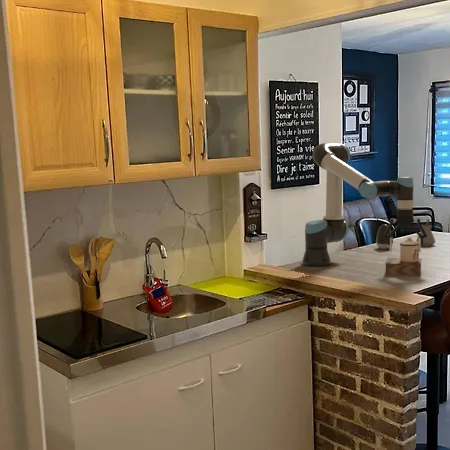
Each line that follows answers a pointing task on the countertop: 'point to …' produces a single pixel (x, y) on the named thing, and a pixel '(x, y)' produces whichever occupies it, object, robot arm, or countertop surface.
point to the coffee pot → (430, 238)
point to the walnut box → (402, 267)
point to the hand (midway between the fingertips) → (404, 251)
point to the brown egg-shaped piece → (381, 239)
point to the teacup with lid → (409, 251)
